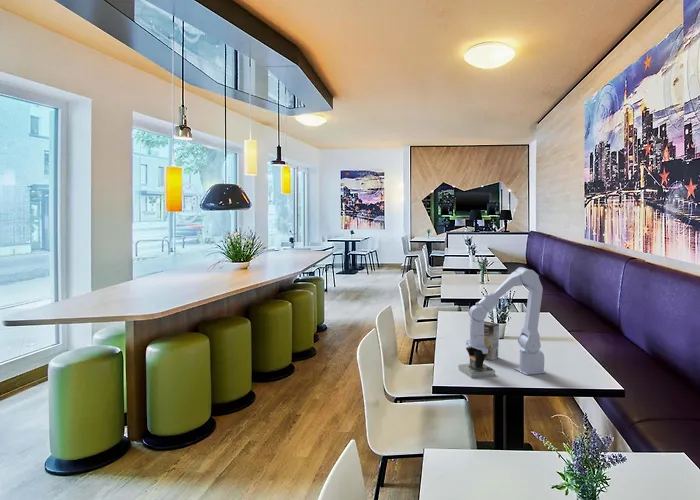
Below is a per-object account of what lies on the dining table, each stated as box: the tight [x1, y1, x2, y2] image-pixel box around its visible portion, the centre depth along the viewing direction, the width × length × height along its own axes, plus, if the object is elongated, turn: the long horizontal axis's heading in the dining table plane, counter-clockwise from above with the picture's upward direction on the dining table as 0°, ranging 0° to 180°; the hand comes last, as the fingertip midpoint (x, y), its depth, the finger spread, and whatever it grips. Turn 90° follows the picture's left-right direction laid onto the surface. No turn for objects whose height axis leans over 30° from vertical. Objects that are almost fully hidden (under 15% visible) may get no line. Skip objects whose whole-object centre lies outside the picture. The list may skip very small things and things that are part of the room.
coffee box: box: [484, 320, 500, 361], centre depth 223 cm, size 9×6×16 cm
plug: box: [469, 355, 483, 370], centre depth 203 cm, size 4×4×6 cm
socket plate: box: [458, 363, 496, 379], centre depth 203 cm, size 11×11×2 cm
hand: (476, 365), depth 203 cm, fingers closed on plug, 4 cm apart
